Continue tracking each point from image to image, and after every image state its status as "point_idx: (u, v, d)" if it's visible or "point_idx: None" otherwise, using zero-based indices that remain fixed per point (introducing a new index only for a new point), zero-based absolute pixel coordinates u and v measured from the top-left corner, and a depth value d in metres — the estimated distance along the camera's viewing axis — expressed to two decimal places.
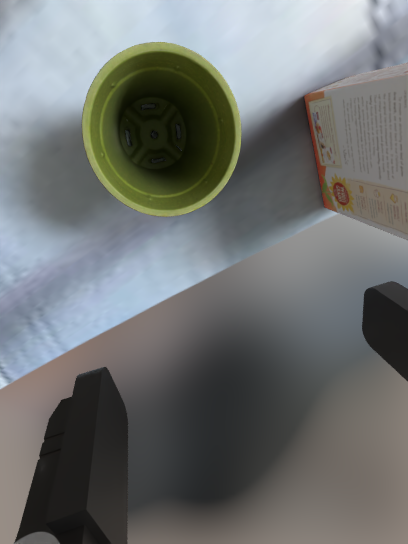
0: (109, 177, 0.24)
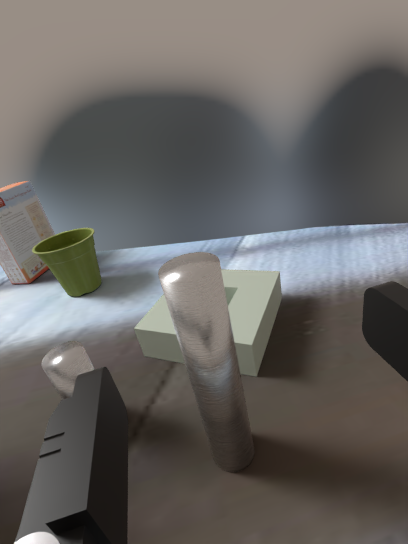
0: (89, 238, 0.59)
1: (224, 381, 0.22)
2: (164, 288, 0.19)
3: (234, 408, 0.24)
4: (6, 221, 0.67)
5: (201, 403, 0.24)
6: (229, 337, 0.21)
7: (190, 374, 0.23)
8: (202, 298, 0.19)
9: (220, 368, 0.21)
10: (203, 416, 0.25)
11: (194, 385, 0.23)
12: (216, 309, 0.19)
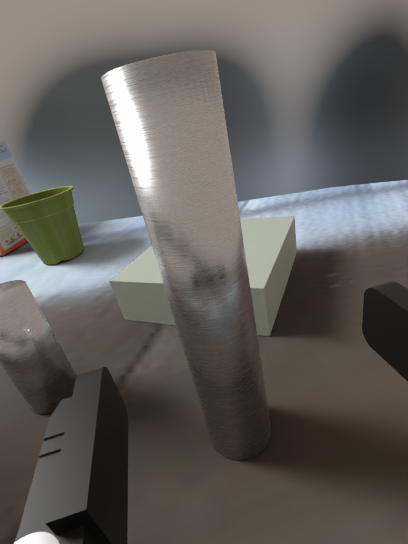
0: (67, 194, 0.50)
1: (226, 298, 0.13)
2: (111, 97, 0.10)
3: (242, 352, 0.15)
4: None
5: (188, 343, 0.15)
6: (234, 216, 0.12)
7: (169, 290, 0.14)
8: (182, 105, 0.10)
9: (219, 270, 0.12)
10: (193, 368, 0.16)
11: (176, 310, 0.14)
12: (209, 142, 0.10)
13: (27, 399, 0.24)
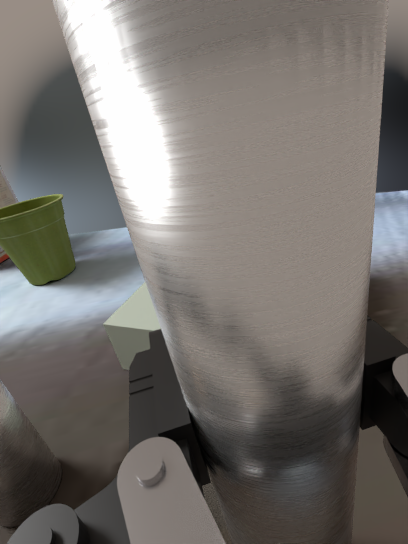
0: None
1: (331, 488, 0.06)
2: (77, 48, 0.03)
3: None
4: None
5: (239, 533, 0.08)
6: None
7: (209, 458, 0.07)
8: (313, 66, 0.03)
9: (328, 450, 0.06)
10: None
11: (222, 489, 0.07)
12: (362, 181, 0.04)
13: None
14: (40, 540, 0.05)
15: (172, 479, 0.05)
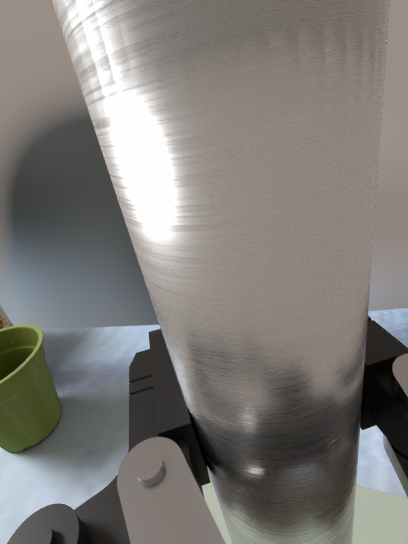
0: (32, 358, 0.33)
1: (332, 488, 0.06)
2: (76, 47, 0.03)
3: None
4: None
5: (239, 533, 0.08)
6: (366, 334, 0.05)
7: (210, 459, 0.07)
8: (314, 65, 0.03)
9: (329, 451, 0.06)
10: None
11: (222, 489, 0.07)
12: (362, 181, 0.04)
13: None
14: (40, 540, 0.05)
15: (172, 479, 0.05)
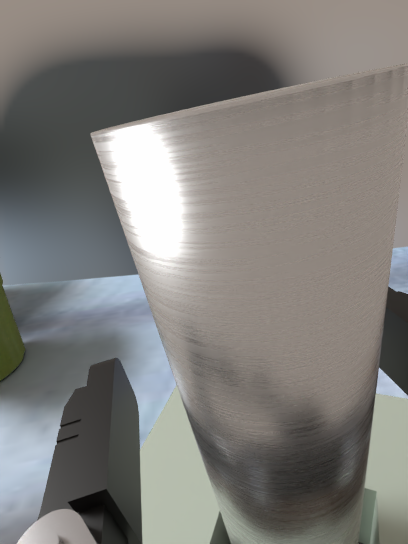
0: None
1: (339, 539, 0.07)
2: (117, 192, 0.04)
3: None
4: None
5: None
6: None
7: (224, 508, 0.07)
8: (337, 234, 0.03)
9: (338, 512, 0.06)
10: None
11: (234, 534, 0.08)
12: (376, 302, 0.04)
13: None
14: None
15: None
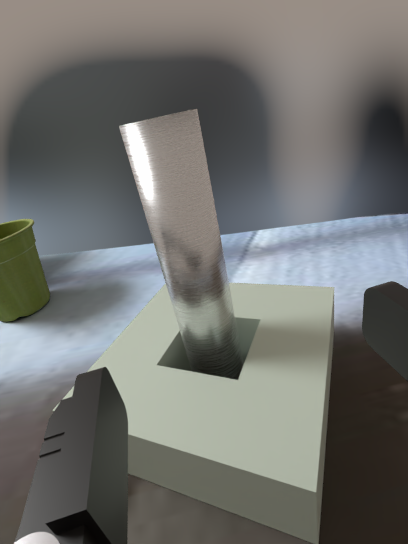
0: (23, 234, 0.39)
1: (207, 279, 0.18)
2: (126, 139, 0.15)
3: (221, 320, 0.20)
4: None
5: (180, 314, 0.20)
6: (212, 219, 0.17)
7: (165, 273, 0.18)
8: (173, 146, 0.14)
9: (201, 258, 0.17)
10: (184, 335, 0.21)
11: (171, 289, 0.19)
12: (193, 169, 0.15)
13: None
14: None
15: None
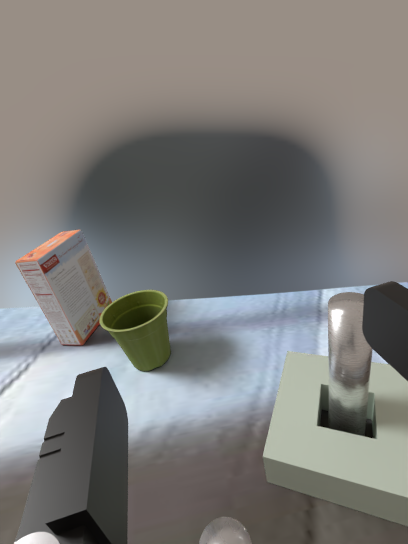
0: None
1: (365, 383, 0.31)
2: (338, 320, 0.28)
3: (365, 403, 0.33)
4: (60, 280, 0.59)
5: (340, 399, 0.33)
6: None
7: (338, 378, 0.31)
8: None
9: (365, 374, 0.30)
10: (338, 409, 0.34)
11: (339, 386, 0.32)
12: None
13: None
14: None
15: None
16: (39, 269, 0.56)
